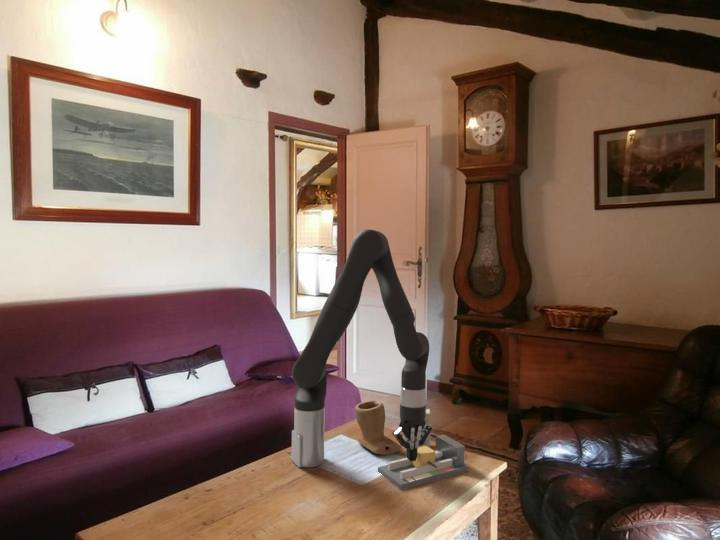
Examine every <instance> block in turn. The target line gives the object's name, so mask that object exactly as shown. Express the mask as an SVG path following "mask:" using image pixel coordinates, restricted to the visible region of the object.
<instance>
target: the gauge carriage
mask: <svg viewBox="0 0 720 540" xmlns="http://www.w3.org/2000/svg"><path fill="white" fill-rule="evenodd" d="M435 451H436V450H434V449H432V448H431V447H430V448H429V447H427V446H423V447H418V449H417V458H416V461H412V465H413V466H415V467H419V466H423V465H427V464H431V465H432V466H434V467H435V468H437V466H436V465H434V464H433V463H435V458H438V457H442V456H443V453H442V452H441V451H438V452H435Z"/></svg>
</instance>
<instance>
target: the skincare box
mask: <svg viewBox="0 0 720 540" xmlns="http://www.w3.org/2000/svg"><path fill="white" fill-rule="evenodd" d="M425 421H426V424H427V425H428V426H430V427H431V409H430V408H426V418H425ZM421 439H422V438H421ZM423 446H427V447H429V448H430V449H431V433H430V434H429V435H428V437H427V439H426V440H425V442H424V444H423V445H420V446H419V447H423Z"/></svg>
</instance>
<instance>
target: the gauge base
mask: <svg viewBox="0 0 720 540" xmlns="http://www.w3.org/2000/svg"><path fill="white" fill-rule="evenodd" d="M434 451H435V452H438V451H436V450H434ZM433 464H434V465H436V466H437V468H435V467H434V466H432V465H431V464H427V465H423V466H419V467H415V466H413V465H412V462H411V461H410V460H408V458H407V457H405V458H401V459H396V460H393V461H389V462H387V464H386V465H382V466H378V467H377V473H378V472H379V473H381V474H382V475H383V476H384V477H383V476H382V475H381V474H380V475H381V476H382V477H383V478H384V479H386V480H387V479H388V480H389V481H388V480H387V481H388V482H389V483H391V482H392V483H393V484H394V485H393V484H392V483H391V484H392V485H393V486H394V487H396V486H397V487H398V488H399V489H398V488H397V487H396V488H397V489H398V490H399V491H404V490H405V489H406V488H407V489H410V488H413V487H417V486H420V485H424V484H428V483H431V482H434V481H439V480H442V479H445V478H449V477H452V476H457V475H460V474H464V473H466V472H468V470H469V467H468V465H466V464H464V466H461V467H457V468H456V467H454V466H453V465H452V459H446V460H443V459H442V458H440V457H438V458H435V463H433ZM379 473H378V474H379Z"/></svg>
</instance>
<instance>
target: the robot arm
mask: <svg viewBox="0 0 720 540" xmlns="http://www.w3.org/2000/svg"><path fill="white" fill-rule="evenodd" d="M347 255H348V256H347V257H346V258H347V259H346V261H345V262H344V263H345V264H344V266H343V268H342V270H341V272H340V274H339V276H338V278H337V279H336V281H335V283H334V284H333V287H332V289H331V291H330V293H329V294H328V297H327V298H326V300H325V302H324V304H323V307H322V308H321V311H320V314H319V315H318V318H317V320H316V323H315V324H314V325H315V326H314V327H313V330H312V333H311V336H310V338H309V340H308V342H307V344H306V345H305V347H304V349H303V350H302V352H301V353H300V355H299V356H298V359H297V360H296V361H295V362H294V364H293V367H292V371H291V374H292V375H291V376H292V380H293V382H294V384H295V385H296V387H297V388H296V393H295V396H294V403H293V404H294V405H293V406H294V407H293V408H294V409H293V411H294V415H293V416H294V418H293V421H294V422H293V423H294V424H293V425H294V427H293V429H292V430H291V461H292V462H293V463H294V464H295V465H296V466H297V467H298V468H313V467H319V466H321V465H323V463H324V462H325V414H326V412H325V408H326V407H325V406H326V404H325V403H326V397H327V381H328V380H327V379H328V368H327V367H328V366H327V362H328V359H329V357H330V355H331V353H332V351H333V349H334V348H335V346H336V345H337V343H338V342H339V341H340V340H341V338H342V337H343V335H344V333H345V332H346V330H347V328H348V327H349V325H350V324H351V321H352V319H353V318H354V316H355V314H356V311H357V309H358V307H359V304H360V301H361V296H362V293H363V287H364V284H365V281H366V279H367V276H368V275H369V273H370V271H371V269H372V271H373V272H374V275H375V278H376V280H377V283H378V285H379V291H380V296H381V300H382V303H383V307H384V309H385V310H386V314H387V316H388V319H389V320H390V324H391V326H392V328H393V333H394V338H395V339H394V340H395V343H396V346H397V349H398V352H399V353H400V354H401V356H402V357H403V358H404V359H405V362H404V366H403V368H402V370H401V386H400V394H399V420H400V422H399V424H398V428H397V430H393V431H392V436H393V437H394V438H395V440H396V441H397V442H398V444H399V445H400V446H401V447H402V448H404V449H406V458H408V460H410V461H411V462H412V461H416V458H417V449H418V447H419V446H420V445H423V444H424V442H425V440H426V439H427V437H428V435H429V434H430V435H431V432H432V430H433V427H432V426H431V425H430V426H428V425H427V424H426V421H425V418H426V409H427V389H426V386H427V385H426V384H427V367H428V361H429V356H430V354H429V353H430V342H429V339H428V337H427V336H426V335H425V334H424V333H422V332H420V331H417V330H416V326H415V321H416V317H415V314H414V312H413V309H412V307H411V304H410V302H409V299H408V297H407V295H406V292H405V290H404V288H403V286H402V283H401V281H400V278H399V276H398V273H397V270H396V267H395V265H394V264H395V263H394V260H393V257H392V252H391V248H390V244H389V241H388V238H387V237H386V236H385V234H384V233H382V232H381V231H378V230H374V229H371V228H370V229H364V230H361V231H360V232H359V233H357V235H356V236H355V238H354V240H353V241H352V245H351V247H350V250H349V252H348V254H347ZM403 436H404V438H403ZM421 438H422V439H421Z"/></svg>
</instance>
